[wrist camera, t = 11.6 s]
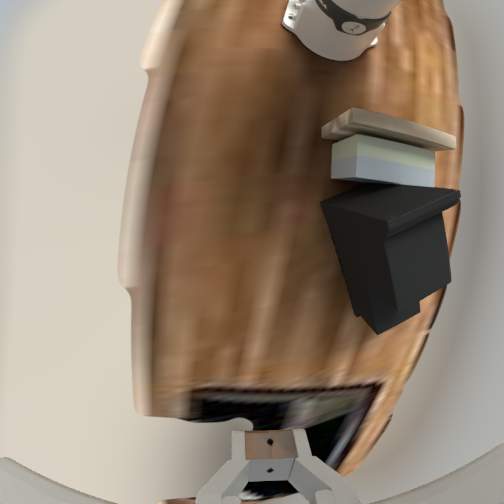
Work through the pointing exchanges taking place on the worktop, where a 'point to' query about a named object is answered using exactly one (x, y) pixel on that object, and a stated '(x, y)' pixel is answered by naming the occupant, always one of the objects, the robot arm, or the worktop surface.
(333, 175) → the book
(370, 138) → the book
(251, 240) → the worktop surface
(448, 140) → the end board
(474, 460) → the robot arm
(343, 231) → the black stepped block
